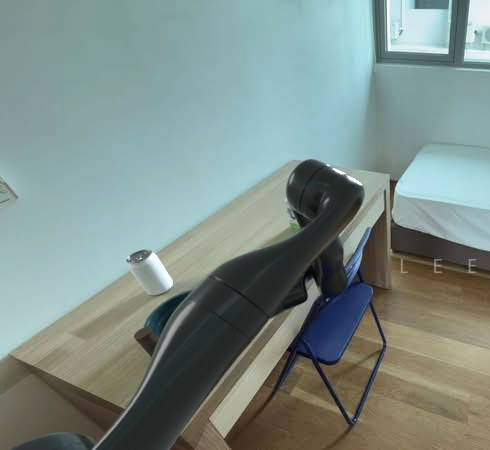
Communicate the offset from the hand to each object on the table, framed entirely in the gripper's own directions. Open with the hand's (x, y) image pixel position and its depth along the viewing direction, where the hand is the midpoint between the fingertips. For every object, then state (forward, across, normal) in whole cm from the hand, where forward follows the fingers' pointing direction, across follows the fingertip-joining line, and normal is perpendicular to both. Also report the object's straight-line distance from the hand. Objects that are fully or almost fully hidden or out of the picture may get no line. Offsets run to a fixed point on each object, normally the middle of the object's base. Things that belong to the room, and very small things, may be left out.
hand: (174, 340), depth 62 cm
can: (+7, -33, +10) cm, 36 cm away
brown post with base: (+3, 0, +10) cm, 11 cm away
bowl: (0, -13, +10) cm, 17 cm away
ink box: (-37, -40, +10) cm, 56 cm away
